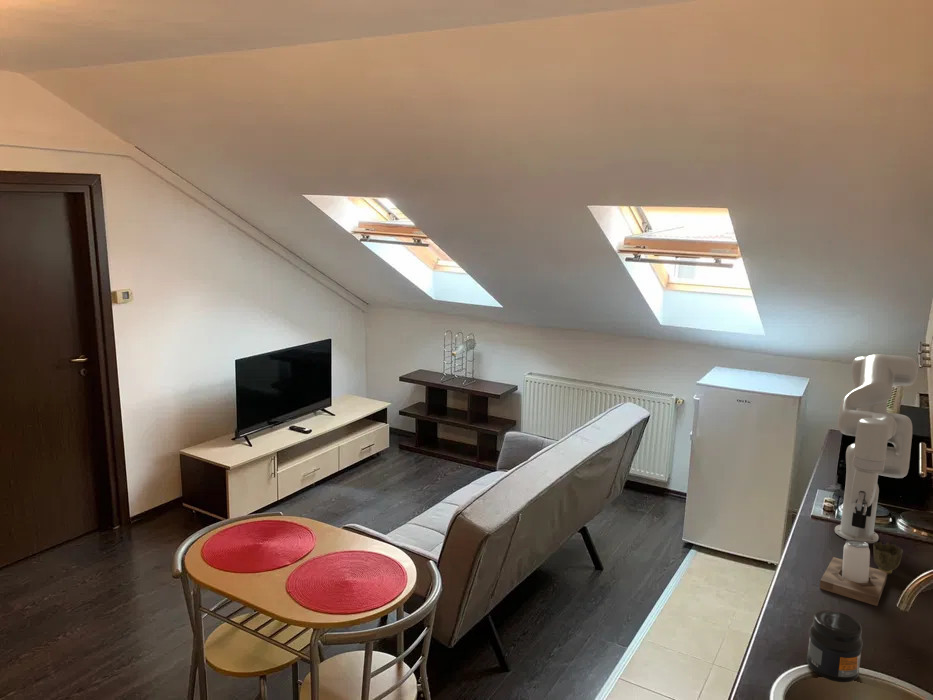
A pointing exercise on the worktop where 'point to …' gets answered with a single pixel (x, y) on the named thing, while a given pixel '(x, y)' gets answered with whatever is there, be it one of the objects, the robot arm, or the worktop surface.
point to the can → (856, 561)
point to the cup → (887, 556)
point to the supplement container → (835, 646)
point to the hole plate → (853, 583)
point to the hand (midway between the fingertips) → (861, 521)
